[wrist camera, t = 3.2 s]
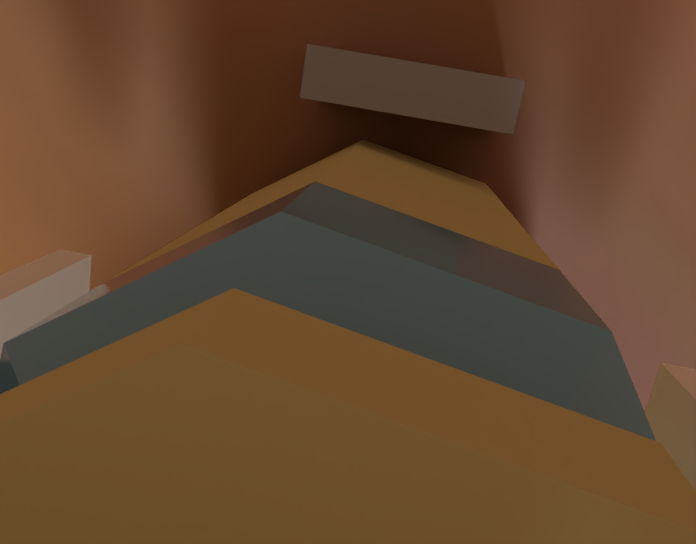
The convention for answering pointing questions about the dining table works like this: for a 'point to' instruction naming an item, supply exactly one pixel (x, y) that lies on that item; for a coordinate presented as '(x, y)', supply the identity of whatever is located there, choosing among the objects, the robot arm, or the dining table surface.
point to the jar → (335, 384)
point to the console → (411, 89)
